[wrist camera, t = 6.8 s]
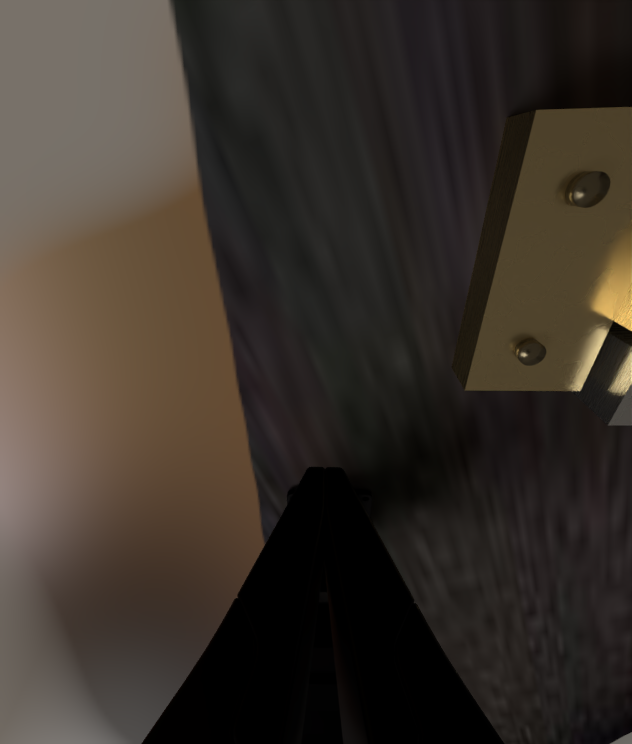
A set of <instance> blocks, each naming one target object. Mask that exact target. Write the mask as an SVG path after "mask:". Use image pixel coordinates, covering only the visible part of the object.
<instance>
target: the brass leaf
mask: <svg viewBox="0 0 632 744" xmlns="http://www.w3.org/2000/svg"><path fill="white" fill-rule="evenodd" d="M613 321H615V322H617V323H618V324H620V325H622V326H624V327H625V328H627V329H629V330H631V331H632V107H613V108H581V109H550V110H534V111H530V112H527V113H523V114H519V115H515V116H511V117H508V118H507V119H506V123H505V128H504V132H503V137H502V141H501V146H500V150H499V155H498V160H497V164H496V169H495V173H494V178H493V182H492V187H491V191H490V196H489V200H488V205H487V209H486V214H485V218H484V223H483V228H482V232H481V237H480V241H479V246H478V250H477V255H476V259H475V264H474V268H473V273H472V277H471V282H470V286H469V291H468V296H467V300H466V305H465V309H464V314H463V318H462V323H461V327H460V332H459V336H458V341H457V345H456V350H455V354H454V359H453V364H452V369H453V371H454V373H455V374H456V376H457V378H458V379H459V381H460V383H461V385H462V386H463V388H464V390H484V391H581V389H582V386H583V384H584V382H585V380H586V378H587V376H588V374H589V372H590V370H591V367H592V365H593V363H594V361H595V359H596V357H597V355H598V353H599V351H600V348H601V346H602V344H603V342H604V340H605V338H606V336H607V334H608V332H609V329H610V327H611V325H612V323H613Z"/></svg>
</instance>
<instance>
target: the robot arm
mask: <svg viewBox="0 0 632 744" xmlns="http://www.w3.org/2000/svg"><path fill="white" fill-rule="evenodd" d="M371 506H372V494H371V492H370V491H367V490H354V489H353V487H352V485H351V483H350V481H349V479H348V478H347V476H346V474H345V472H344V470H343V469H342V468H339V467H327V468H326V469H324V468H323V467H309V468H308V469H307V470H306V472H305V474H304V476H303V477H302V479H301V481H300V483H299V485H298V486H297V488H296V490H290V491H288V494H287V506H286V508H285V510H284V512H283V513H282V515H281V517H280V519H279V521H278V522H277V524H276V526H275V528H274V530H273V531H272V533H271V535H270V537H269V539H268V540H267V542H266V544H265V546H264V548H263V550H262V551H261V553H260V555H259V557H258V558H257V560H256V562H255V564H254V566H253V567H252V569H251V571H250V573H249V575H248V576H247V578H246V580H245V582H244V584H243V585H242V587H241V589H240V591H239V593H238V595H237V596H238V598H236V599H234V601H233V603H232V605H231V607H230V608H229V610H228V612H227V614H226V616H225V617H224V619H223V621H222V623H221V624H220V626H219V628H218V629H217V631H216V633H215V634H214V636H213V638H212V640H211V641H210V643H209V645H208V646H207V648H206V649H205V651H204V652H203V654H202V655H201V657H200V659H199V660H198V662H197V663H196V665H195V666H194V668H193V669H192V671H191V672H190V674H189V675H188V677H187V678H186V680H185V681H184V683H183V684H182V686H181V687H180V689H179V690H178V692H177V693H176V694H175V696H174V697H173V699H172V700H171V702H170V703H169V705H168V706H167V707H166V709H165V710H164V712H163V713H162V715H161V716H160V718H159V719H158V720H157V722H156V723H155V725H154V726H153V728H152V729H151V731H150V732H149V734H148V735H147V737H146V738H145V739H144V741H143V742H142V744H504V742H503V741H502V739H501V738H500V737H499V735H498V734H497V732H496V731H495V729H494V728H493V726H492V725H491V723H490V722H489V720H488V719H487V717H486V716H485V714H484V713H483V711H482V710H481V708H480V707H479V705H478V704H477V702H476V701H475V699H474V698H473V696H472V695H471V693H470V692H469V690H468V689H467V687H466V686H465V684H464V683H463V681H462V680H461V678H460V676H459V675H458V673H457V672H456V670H455V669H454V667H453V666H452V664H451V662H450V661H449V659H448V658H447V656H446V655H445V653H444V651H443V649H442V648H441V646H440V644H439V643H438V641H437V639H436V637H435V636H434V634H433V632H432V630H431V629H430V627H429V625H428V624H427V622H426V620H425V618H424V616H423V614H422V613H421V611H420V609H419V607H418V605H417V604H416V603H414V598H413V596H412V595H411V593H410V591H409V589H408V587H407V586H406V584H405V582H404V580H403V578H402V576H401V575H400V573H399V571H398V569H397V567H396V565H395V564H394V562H393V560H392V558H391V556H390V554H389V553H388V551H387V549H386V547H385V545H384V543H383V542H382V540H381V538H380V536H379V534H378V532H377V531H376V529H375V527H374V525H373V523H372V521H371V520H370V515H371Z"/></svg>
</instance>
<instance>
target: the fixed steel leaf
mask: <svg viewBox="0 0 632 744" xmlns="http://www.w3.org/2000/svg"><path fill="white" fill-rule="evenodd" d="M571 392H572V393H574V394H575V395H576V396H577V397H578V398H579V399H580V400H581V401H582V402H583V403H584V404H585V405H586V406H588V407H589V408H590V409H591V410H592V411H593V412H594V413H595V414H596V415H597V416H598V417H599V418H600V419H602V420H603V421H604V422H605V423H606V424H607V425H632V331H631V330H629V329H627V328H625V327H624V326H622V325H620V324H618V323H617V322H615V321H613V323H612V325H611V327H610V329H609V332H608V334H607V336H606V338H605V340H604V342H603V344H602V346H601V348H600V351H599V353H598V355H597V357H596V359H595V361H594V363H593V365H592V367H591V370H590V372H589V374H588V376H587V378H586V380H585V382H584V384H583V386H582V389H581V391H571Z"/></svg>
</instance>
